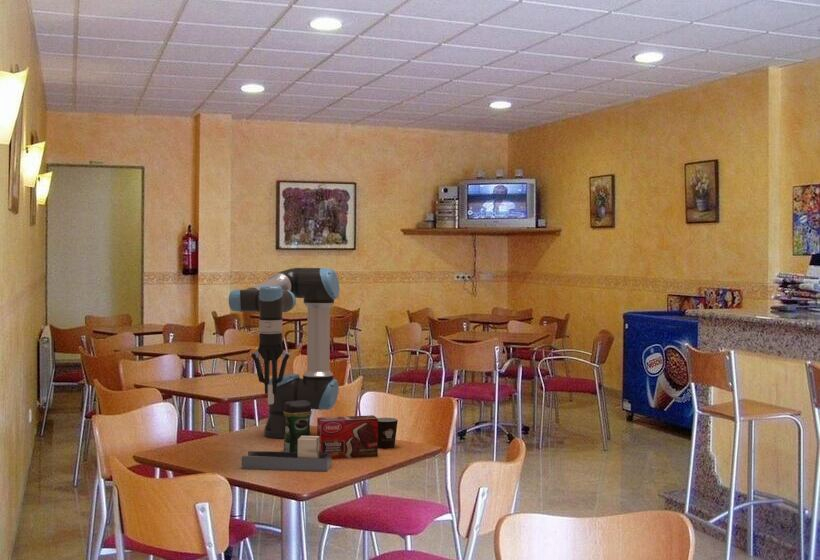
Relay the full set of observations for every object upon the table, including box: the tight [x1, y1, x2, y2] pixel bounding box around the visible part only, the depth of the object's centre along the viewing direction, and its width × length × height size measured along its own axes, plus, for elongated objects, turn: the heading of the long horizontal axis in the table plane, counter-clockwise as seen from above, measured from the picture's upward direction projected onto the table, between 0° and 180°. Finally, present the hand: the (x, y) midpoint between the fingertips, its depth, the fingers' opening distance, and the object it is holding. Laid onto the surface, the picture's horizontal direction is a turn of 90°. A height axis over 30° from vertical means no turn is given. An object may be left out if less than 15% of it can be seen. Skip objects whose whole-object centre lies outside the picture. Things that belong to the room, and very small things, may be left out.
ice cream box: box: [316, 414, 379, 460], centre depth 317 cm, size 20×6×13 cm, turn 107°
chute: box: [241, 450, 333, 472], centre depth 299 cm, size 9×28×4 cm, turn 85°
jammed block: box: [298, 435, 319, 458], centre depth 299 cm, size 6×6×8 cm
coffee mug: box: [377, 417, 399, 450], centre depth 333 cm, size 12×9×10 cm
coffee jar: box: [283, 400, 313, 452], centre depth 320 cm, size 10×8×19 cm
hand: (270, 403), depth 303 cm, fingers closed
